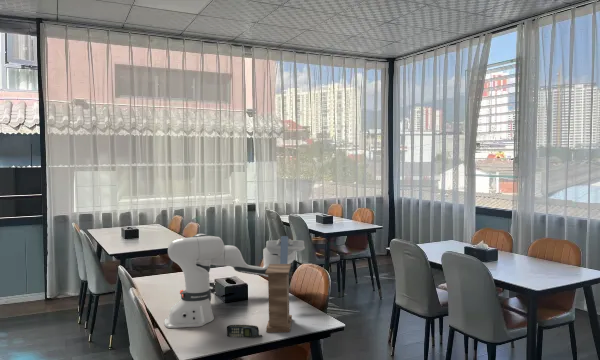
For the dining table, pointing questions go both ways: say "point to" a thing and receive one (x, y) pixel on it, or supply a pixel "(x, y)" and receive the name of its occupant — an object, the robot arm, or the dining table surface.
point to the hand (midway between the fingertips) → (284, 240)
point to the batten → (284, 250)
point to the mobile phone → (243, 331)
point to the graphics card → (212, 287)
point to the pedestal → (278, 298)
